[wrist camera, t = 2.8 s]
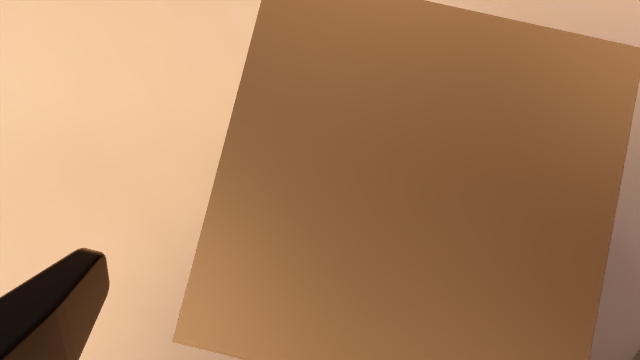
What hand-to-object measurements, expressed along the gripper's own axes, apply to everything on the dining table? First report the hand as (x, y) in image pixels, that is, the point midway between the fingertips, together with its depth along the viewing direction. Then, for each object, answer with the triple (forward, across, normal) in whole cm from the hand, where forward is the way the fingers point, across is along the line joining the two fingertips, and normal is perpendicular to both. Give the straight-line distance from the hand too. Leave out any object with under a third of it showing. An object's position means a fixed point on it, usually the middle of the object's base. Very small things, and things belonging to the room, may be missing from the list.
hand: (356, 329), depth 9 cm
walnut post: (+8, 0, +5) cm, 10 cm away
